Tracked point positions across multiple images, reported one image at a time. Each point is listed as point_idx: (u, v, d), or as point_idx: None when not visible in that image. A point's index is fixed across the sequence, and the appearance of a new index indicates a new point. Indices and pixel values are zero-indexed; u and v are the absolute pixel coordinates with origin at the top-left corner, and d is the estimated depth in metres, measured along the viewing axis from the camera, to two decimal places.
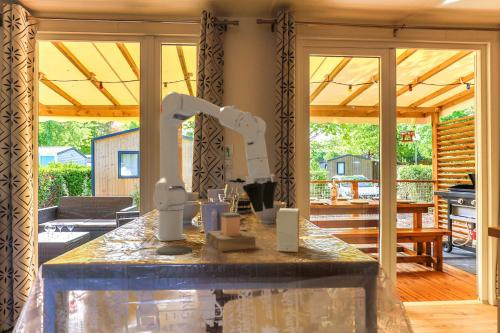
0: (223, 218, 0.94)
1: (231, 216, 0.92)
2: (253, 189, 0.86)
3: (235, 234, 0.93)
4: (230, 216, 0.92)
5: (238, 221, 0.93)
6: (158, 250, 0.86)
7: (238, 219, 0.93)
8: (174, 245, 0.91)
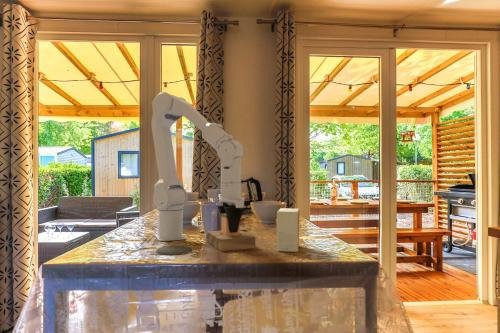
0: (223, 218, 0.94)
1: None
2: (233, 211, 0.92)
3: (235, 234, 0.93)
4: None
5: None
6: (158, 250, 0.86)
7: None
8: (174, 245, 0.91)
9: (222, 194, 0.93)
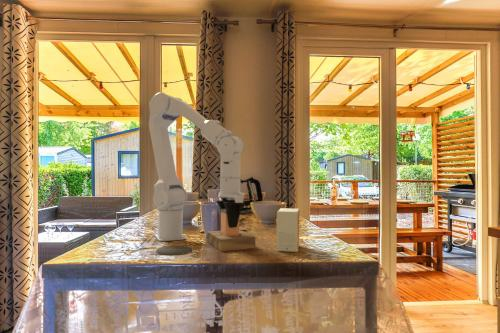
0: (222, 214, 0.94)
1: None
2: (232, 206, 0.92)
3: (234, 230, 0.93)
4: None
5: None
6: (158, 250, 0.86)
7: None
8: (174, 245, 0.91)
9: (222, 189, 0.93)
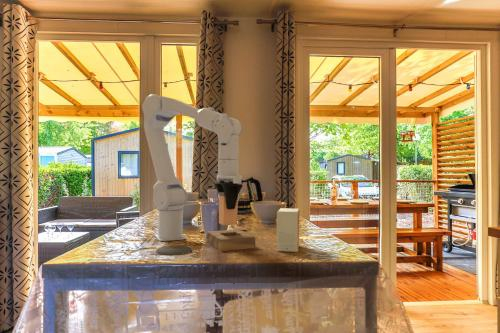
0: (220, 197, 0.94)
1: None
2: (230, 188, 0.92)
3: (232, 213, 0.93)
4: None
5: None
6: (158, 250, 0.86)
7: None
8: (174, 245, 0.91)
9: (219, 171, 0.93)
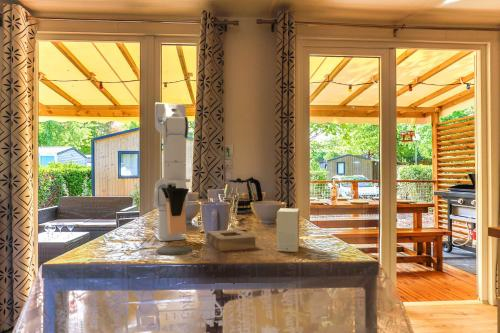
0: (167, 203, 0.87)
1: None
2: (175, 193, 0.84)
3: (180, 219, 0.86)
4: None
5: (183, 205, 0.86)
6: (158, 250, 0.86)
7: (183, 203, 0.86)
8: (174, 245, 0.91)
9: (164, 174, 0.86)
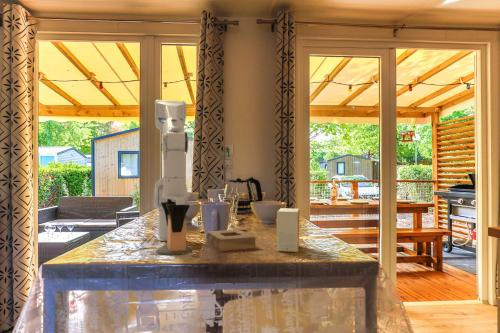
0: (169, 220, 0.87)
1: None
2: (176, 209, 0.84)
3: (181, 237, 0.86)
4: None
5: (184, 223, 0.86)
6: (158, 250, 0.86)
7: (184, 221, 0.86)
8: None
9: (164, 190, 0.85)
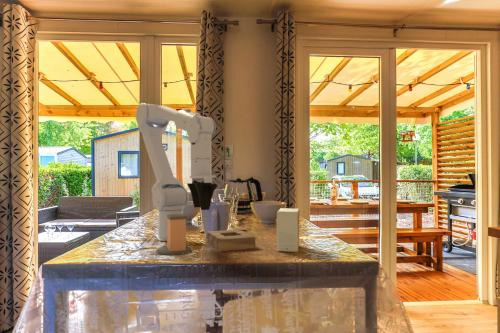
0: (168, 220, 0.87)
1: (176, 218, 0.85)
2: (204, 188, 0.89)
3: (180, 237, 0.86)
4: (175, 218, 0.85)
5: (184, 223, 0.86)
6: (158, 250, 0.86)
7: (184, 221, 0.86)
8: None
9: (192, 170, 0.91)
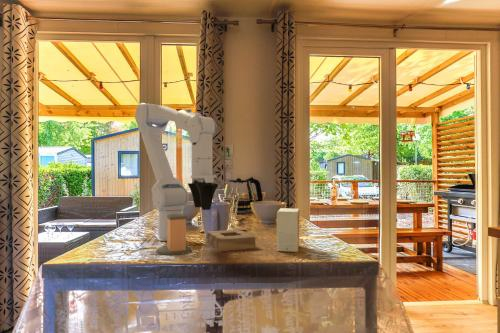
0: (168, 220, 0.87)
1: (176, 218, 0.85)
2: (205, 188, 0.89)
3: (180, 237, 0.86)
4: (175, 218, 0.85)
5: (184, 223, 0.86)
6: (158, 250, 0.86)
7: (184, 221, 0.86)
8: None
9: (193, 171, 0.91)
